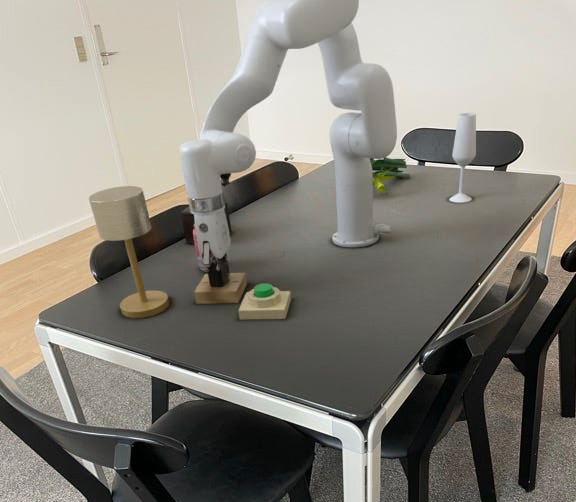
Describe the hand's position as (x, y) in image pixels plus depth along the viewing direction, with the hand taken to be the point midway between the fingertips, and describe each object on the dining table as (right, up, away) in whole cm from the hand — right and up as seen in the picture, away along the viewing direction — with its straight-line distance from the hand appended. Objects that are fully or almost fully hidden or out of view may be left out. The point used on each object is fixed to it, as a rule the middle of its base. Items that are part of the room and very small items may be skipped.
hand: (220, 280), depth 130 cm
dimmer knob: (0, 0, 0) cm, 0 cm away
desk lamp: (-17, -6, 0) cm, 18 cm away
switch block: (+11, -8, -7) cm, 15 cm away
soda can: (-4, +6, +15) cm, 17 cm away
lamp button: (+11, -5, -9) cm, 15 cm away
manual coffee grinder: (-6, +20, +36) cm, 42 cm away
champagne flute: (+69, +33, +43) cm, 88 cm away
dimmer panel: (0, -3, +2) cm, 3 cm away
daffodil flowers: (+47, +42, +60) cm, 87 cm away
